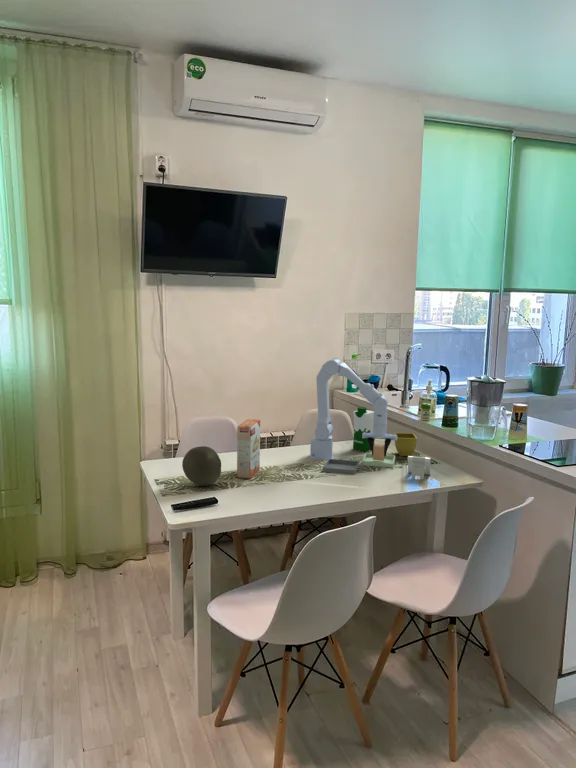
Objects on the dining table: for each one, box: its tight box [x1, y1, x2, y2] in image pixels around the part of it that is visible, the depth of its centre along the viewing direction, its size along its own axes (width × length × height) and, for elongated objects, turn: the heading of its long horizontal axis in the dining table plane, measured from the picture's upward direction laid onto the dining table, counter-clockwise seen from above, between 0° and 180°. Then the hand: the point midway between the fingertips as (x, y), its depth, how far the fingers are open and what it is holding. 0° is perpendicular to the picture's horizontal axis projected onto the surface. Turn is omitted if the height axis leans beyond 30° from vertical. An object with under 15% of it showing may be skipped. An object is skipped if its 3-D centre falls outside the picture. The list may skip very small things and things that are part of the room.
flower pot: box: [393, 432, 418, 457], centre depth 258 cm, size 9×9×9 cm
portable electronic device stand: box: [407, 455, 431, 480], centre depth 229 cm, size 9×8×8 cm
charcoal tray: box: [322, 458, 360, 475], centre depth 237 cm, size 13×13×2 cm
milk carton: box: [352, 406, 374, 453], centre depth 266 cm, size 9×9×20 cm
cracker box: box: [236, 418, 261, 480], centre depth 230 cm, size 14×6×21 cm, turn 167°
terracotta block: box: [373, 443, 385, 461], centre depth 245 cm, size 4×4×6 cm
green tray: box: [361, 452, 396, 470], centre depth 246 cm, size 13×13×2 cm
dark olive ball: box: [182, 445, 222, 487], centre depth 215 cm, size 14×14×15 cm
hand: (379, 455), depth 245 cm, fingers closed on terracotta block, 4 cm apart
